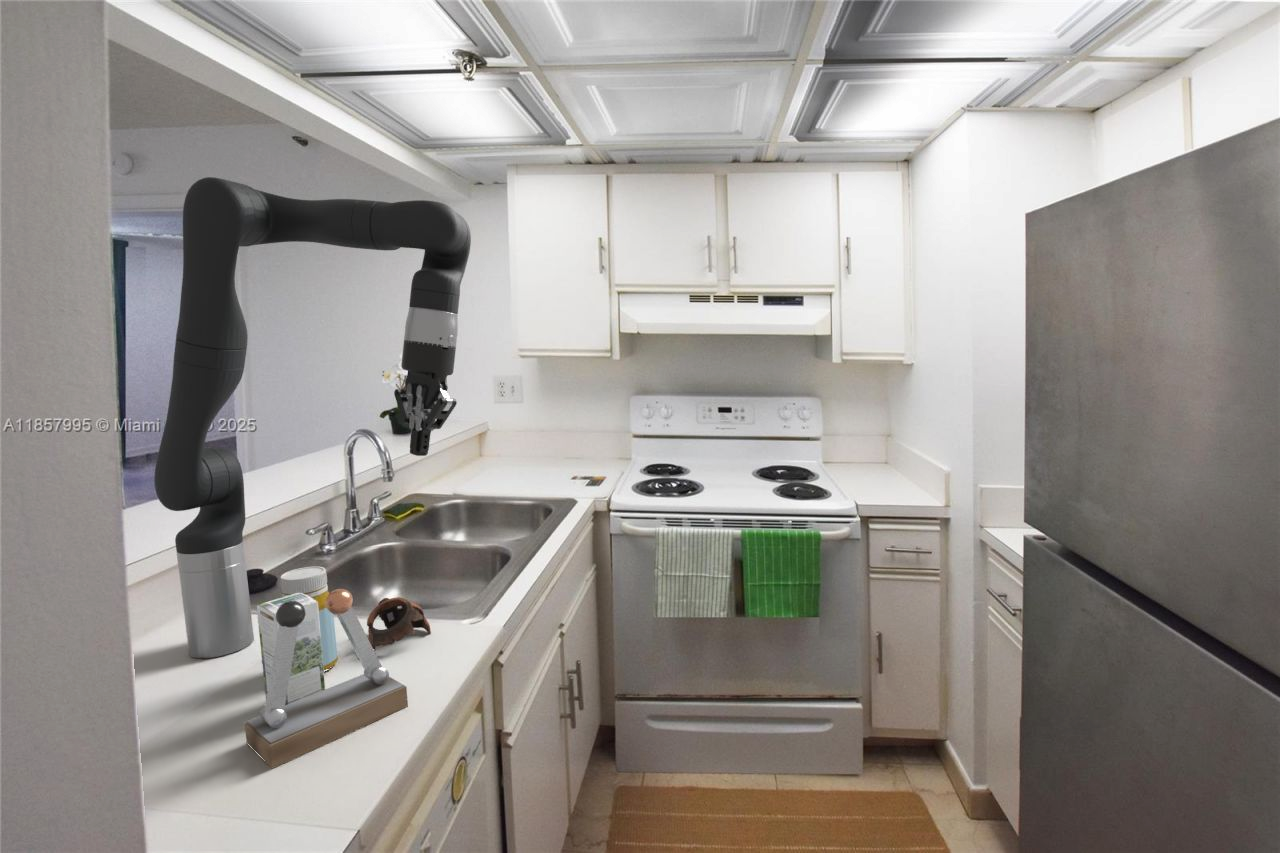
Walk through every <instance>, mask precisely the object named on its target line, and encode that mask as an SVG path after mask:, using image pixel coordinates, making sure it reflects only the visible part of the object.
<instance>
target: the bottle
mask: <svg viewBox="0 0 1280 853" xmlns="http://www.w3.org/2000/svg"><path fill="white" fill-rule="evenodd" d="M327 583H328V576H327V569H326V567H324V566H307V567H300V568H295V569H292V570H288V571H286V572H285V573H283V574H281V576H280V590H281V591H282V592H281V596H282V597H285V596H289V595H292V594H296V593H303V594H305V595H308V596H309V597H311V598H313V599H314V600H316V601H317V602H318V609H319V622H320V634H321V645H322V657H323V668H324V670H326V669H329V668H330V667H332V666H333V665H334V666H335V665H336V663H337V662H338V648H337V637H336V636H337V635H336V627H335V616H334V615H335V614H332V613H331V612H329V611H328V609H327V608H326V598H327V596H328V595H329V594H330V593H331V592H329V590H328V589H329V587H328V584H327ZM334 666H333V667H334ZM333 667H332V668H333Z"/></svg>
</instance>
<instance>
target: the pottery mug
mask: <svg viewBox="0 0 1280 853" xmlns="http://www.w3.org/2000/svg"><path fill="white" fill-rule="evenodd" d="M398 607H401V608H398ZM377 617H379V618H380V620H381V621H382V622H383V623H384V624H383V625H384V627H385V629H379V628H375V627H374V622H375V621H376V619H377ZM366 626H367V628H368V630H367V631H368V636H367V638H368V640H369V642H370V644H371V646H372V648H373V649H375V648H376V649H377V647H378V648H379V647H384V646H388V645H393V644H395V641H396V642H398V641H401V640H402V639H403V638H405V637H406V636H407V635H415V634H416V632H415V630H414V629H424V630H425V631H426V632H427V634H428V635H432V631H431V627H430V623H429V621H428V620H427V619H426V617H425V614H424V611H423V608H422V607H420V605H418V604H417V603H414V602H412V601H409V600H408V599H406V598H403V597H398V596H397V597H392V598H389V597H384V598H382V599H381V600H380V601H379V602H378V604H377V605H376V606H375V607H374V609H373V610H372V611H371V612H370V614H369V615H368V617H367V620H366ZM376 649H375V650H376Z"/></svg>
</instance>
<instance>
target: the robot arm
mask: <svg viewBox="0 0 1280 853" xmlns="http://www.w3.org/2000/svg"><path fill="white" fill-rule="evenodd" d="M184 198H185V199H184V202H183V210H182V243H183V244H182V252H183V253H182V254H183V255H182V264H183V267H182V280H181V281H182V282H181V289H180V290H181V291H180V302H179V303H180V304H179V316H178V323H177V328H176V335H175V343H174V344H175V345H174V355H173V363H172V364H173V366H172V378H171V385H170V386H171V387H170V395H169V401H168V407H167V408H168V409H167V414H166V419H165V424H164V428H163V432H162V437H161V440H160V445H159V450H158V453H157V458H156V463H155V467H154V480H153V481H154V488H155V493H156V497H157V498H158V501H159V502H160V503H161V505H162V506H164V508H165V509H167V510H170V511H173V512H182V511H189V510H193V509H198V508H199V512H198V513H197V515H196V517H195V518H193V520H191V522H190V523H189V524H187V526H185V527H183V528H182V529H181V530H180V531H178V532H177V534H176V536H175V540H174V541H175V549H176V550H175V551H176V557H177V566H178V574H179V581H180V589H181V590H180V592H181V598H182V606H183V614H184V623H185V634H186V639H187V647H188V654H189V656H190V657H192V658H195V659H209V658H210V659H211V658H216V657H222V656H226V655H229V654H232V653H236V652H239V651H241V650H243V649H245V648H246V647H248V646H249V645H251V644H252V643H253V642H254V640H255V638H254V637H255V634H254V627H253V626H254V625H253V619H252V616H253V615H252V610H251V609H252V608H251V600H250V599H251V598H250V590H249V583H248V573H247V564H246V558H245V557H246V556H245V546H244V539H243V538H244V537H243V531H244V528H245V525H246V503H245V485H244V484H245V483H244V475H243V470H242V466H241V463H240V461H239V459H238V457H237V456H236V455H235V453H234V452H233V451H232V450H230V449H229V448H227V447H224V446H210V447H205V443H206V439H207V435H208V432H209V430H210V427H211V425H212V423H213V422H214V419H215V418H216V416H217V415H218V414H219V413H220V412H221V410H222V408H223V407H224V406H225V405H226V403H227V401H228V400H229V399H230V398H231V397H232V395H233V394H234V393H235V390H236V389H237V388H238V385H239V384H240V383H241V380H242V378H243V375H244V372H245V371H244V370H245V364H246V356H247V350H248V329H247V328H248V327H247V324H246V321H245V317H244V314H243V311H242V308H241V305H240V301H239V298H238V294H237V292H236V291H237V290H236V281H235V280H236V279H235V277H236V266H237V259H238V254H239V249H240V247H241V248H242V247H251V246H257V245H265V244H266V245H267V244H278V243H294V242H299V243H300V242H302V243H317V244H323V245H329V246H335V247H336V246H337V247H343V248H351V249H352V248H353V249H360V250H361V249H363V250H374V251H397V250H399V249H401V248H402V249H403V248H405V249H418V250H424V253H423V258H422V264H421V268H420V269H418V270H417V271H415V273H414V275H413V276H412V278H411V286H410V297H409V307H408V313H407V315H406V320H405V324H404V325H405V327H404V336H403V337H404V338H403V344H402V345H403V346H402V347H403V348H402V354H401V355H402V356H401V364H400V365H401V369H402V370H404V371H407V375H406V377H405V380H404V386H403V387H402V388H400V389H399V388H396V389H395V390H394V392H393V394H394V398H395V401H396V404H397V407H398V411H399V414H400V417H401V420H402V423H403V424H407V425H408V427H409V429H410V430H411V431H410V432H411V433H410V439H409V440H410V441H409V442H410V443H409V453H410V455H413V456H417V457H420V456H421V457H422V456H423V457H425V456H427V455H428V454H429V449H430V442H431V441H430V440H431V434H432V433H431V432H434V430H441V428H442V426H444V424H445V422H446V421H447V419H448V418H449V417H450V415H451V414H452V412H453V411H454V409H455V408H456V406H457V400H456V398H450V396H449V394H448V393H447V392H448V390H449V388H448V386H449V385H448V381H447V380H448V378H447V377H448V376H451V375H453V374H454V368H455V360H456V350H457V343H458V342H457V341H458V340H457V339H458V330H459V329H458V327H459V326H458V325H459V324H458V314H459V308H460V307H459V306H460V296H461V283H462V280H463V278H464V275H465V272H466V267H467V264H468V261H469V257H470V251H471V245H472V236H471V228H470V227H469V224H468V222H467V221H466V220H465V218H464V217H462V215H461V214H459V213H458V212H457V211H455V210H454V209H453V208H452V207H451V206H449V205H447V204H446V203H443V202H440V201H434V200H421V199H420V200H419V199H418V200H404V201H396V202H395V201H394V202H388V201H380V200H367V199H356V198H354V199H353V198H352V199H351V198H332V199H317V200H316V199H311V200H310V199H309V200H308V199H298V198H293V197H292V198H291V197H285V196H281V195H277V194H273V193H269V192H266V191H263V190H259V189H255V188H253V186H252V187H251V186H249V185H247V184H244V183H240V182H237V181H232V180H229V179H225V178H220V177H214V176H213V177H210V176H209V177H203V178H200V179H198V180H197V181H195V182H194V183H193V184H191V186H190V187H189V188H188V191H187V192H186V195H185V197H184Z"/></svg>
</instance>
